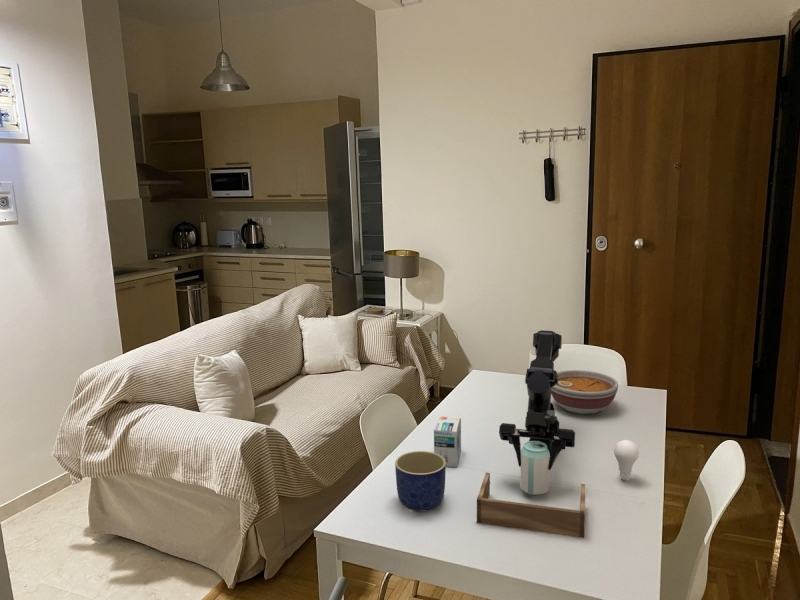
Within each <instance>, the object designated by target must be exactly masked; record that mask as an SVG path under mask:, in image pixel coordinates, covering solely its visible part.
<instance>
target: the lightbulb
mask: <svg viewBox="0 0 800 600" xmlns="http://www.w3.org/2000/svg"><path fill="white" fill-rule="evenodd" d="M613 454H614V457H615V459H616V461H617V464H618V470H619V478H620V479H622V480H623V481H628V480H630V479H631V473H632V469H633V466H634V464H635V463H636V461H637V460H638V458H639V455H640V452H639V447H638V445H637V444H636V443H634V442H633V441H631V440H629V439H623V440H620V441H618V442H616V444H615V445H614V449H613Z"/></svg>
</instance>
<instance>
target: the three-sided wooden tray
mask: <svg viewBox="0 0 800 600" xmlns="http://www.w3.org/2000/svg"><path fill="white" fill-rule="evenodd" d="M490 486H491V473H490V472H488V471H487V472H485V475H484V477H483V479H482V483H481V486H480V489H479V492H478V495H477V498H476V524H481V525H489V526H497V527H503V528H510V529H515V530H523V531H531V532H539V533H546V534H551V535H552V534H553V535H560V536H567V537H573V538H580V539H585V523H586V522H585V521H586V484H585V483H580V494H579V495H580V496H579V501H580V502H579V510H577V509H571V508H564V507H563V508H561V507H554V506H547V505H539V504H532V503H523V502H517V501H510V500H508V501H507V500H503V499H501V500H500V499H493V498H490V494H491V493H490V492H491V491H490V489H491V487H490Z"/></svg>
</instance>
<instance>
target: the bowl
mask: <svg viewBox="0 0 800 600" xmlns="http://www.w3.org/2000/svg"><path fill="white" fill-rule="evenodd" d="M556 372H557V374H558V383H557V384H555V386H553V387H551V397H552V398H553V400H554V401H555V402H556V403H557V404H558V405H559V406H560V407H561V408H563V410H566V411H568V412H570V413H573V414H578V415H579V414H580V415H594V414H597V413H600V412H601V411H604V410H605V409H606V408H608V406H610V405H611V403H612V402H613V401H614V399H615V398H616V395H617V393H618V388H619V382H618V381H617V380H616V379H615V377H614V378H613V377H612V376H610V375H608V374H605V373H601V372H597V371H592V370H590V371H589V370H581V369H580V370H579V369H577V370H576V369H571V370H563V371H562V370H561V371H556Z"/></svg>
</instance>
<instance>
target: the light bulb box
mask: <svg viewBox="0 0 800 600" xmlns="http://www.w3.org/2000/svg"><path fill="white" fill-rule="evenodd" d="M433 453H436V454H438V455H440V456H442V457H443V458H444V459H445V461H446V467H450V468H458V465H459V463H460V458H461V455H462V418H461V417H457V416H456V417H455V416H443V415H439V416H438V418H437V420H436V423H435V425H434V428H433Z"/></svg>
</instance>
